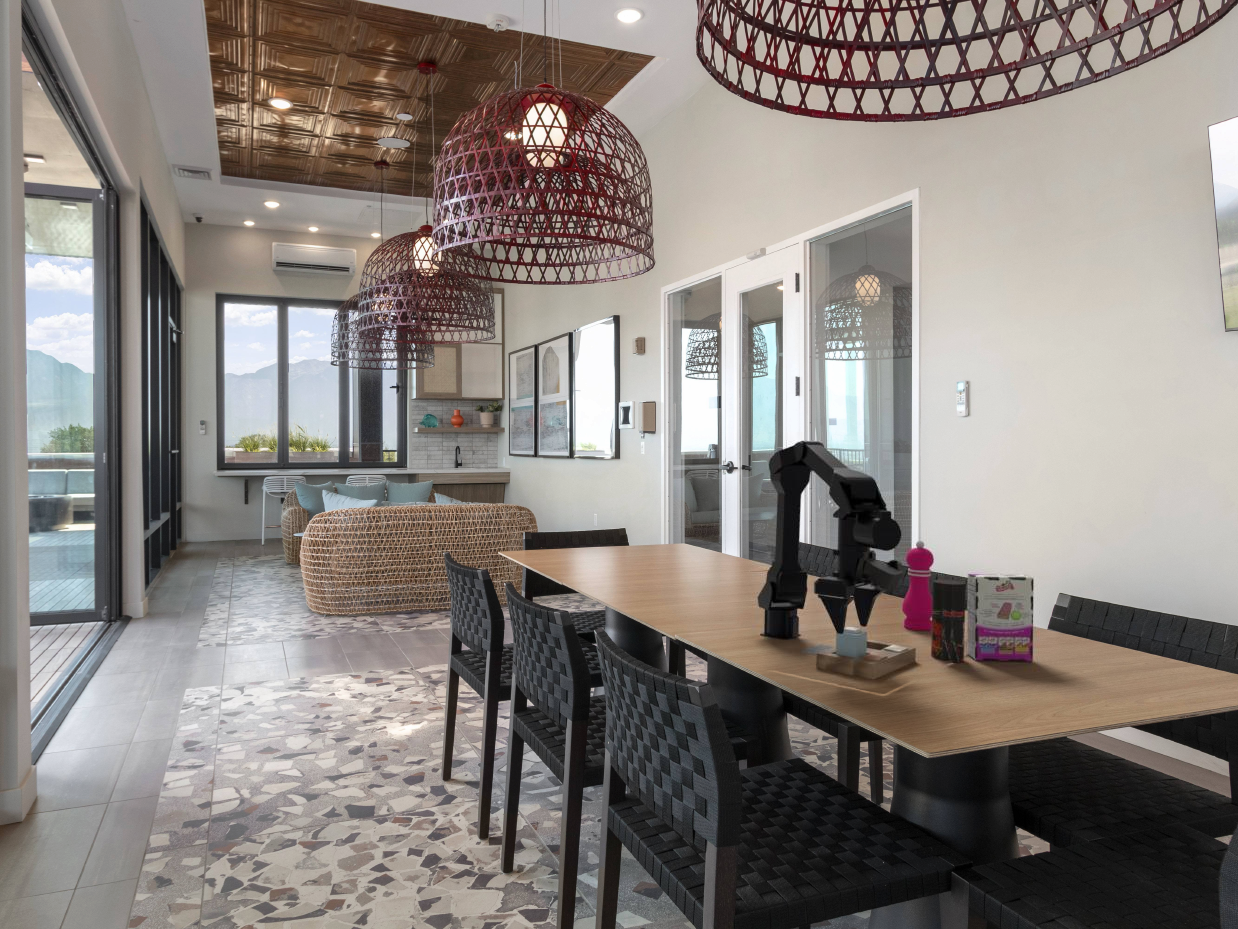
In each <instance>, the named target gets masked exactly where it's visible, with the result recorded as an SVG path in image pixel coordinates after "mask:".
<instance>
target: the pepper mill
mask: <svg viewBox="0 0 1238 929" xmlns="http://www.w3.org/2000/svg"><path fill="white" fill-rule="evenodd" d="M915 545H916V547H913V548H911V549H909V551H907V553H906V556H905V561H906V565H908V566H909V568H907V570H908V573H907V575H908V576H909V587H908V590H907V593H906V595H905V597H904V598H903V602H902V605H901V606H902V607H901V610H902V612H903V614H904V616H905V618H903V627H904V628H905V629H908V630H912V631H913V630H914V631H932V596H933V595H932V594H931V591H930V585H929V584H930V581H929V580H930V577H931V576H932V573H931V572H932V570H931V567H932V566H933V564H934V560H935V559H934V555H933V553H932V551H930V549H928V548H925V543H924V541H922V540H919V541H917V542H916V543H915Z"/></svg>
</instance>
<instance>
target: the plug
mask: <svg viewBox="0 0 1238 929" xmlns="http://www.w3.org/2000/svg"><path fill="white" fill-rule="evenodd" d="M835 633H836V634H835V636H836V637H835V647H836V654H837V655H842V656H847V657H852V658H861V657H862V656H865V655H866V651H867V639H868V632H867V631H862V628H859V627H852V626H846V627H845V628H844V633H843V634H838V633H837V632H836V631H835Z"/></svg>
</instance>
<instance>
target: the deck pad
mask: <svg viewBox="0 0 1238 929" xmlns="http://www.w3.org/2000/svg"><path fill="white" fill-rule="evenodd" d="M834 647H835V646H832V645H831V646H830V645H827V644H818V645H816V646H812V647H809V648H805V649H802V650H800V651H798V652H799V653H803V654H807V655H813V656H817V653H819V652H822V651H825V650H828V649H831V648H834Z"/></svg>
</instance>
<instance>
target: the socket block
mask: <svg viewBox="0 0 1238 929" xmlns="http://www.w3.org/2000/svg"><path fill="white" fill-rule="evenodd" d="M833 647H834V648H831V649H828V650H825V651H822V652H819V653H817V655H815V656H816V657H815V658H816V661H815V662H816V664H815V665H816V666H815V668H817V669H821V670H826V671H829V672H834V673H835V672H836V673H840V674H845V675H850V676H855V677H860V678H864V679H869V680H875V679H878V678H880V677H882V676H884V675H888V674H890V673H892V672H894V671H896V670H899V669H902V668H904V667H906V666H908V665H910V664H913V663H915V662H916V658H917V655H916V654H917V652H916V650H917V648H916V647H914V646H907V645H903V644H898V643H891V642H886V641H880V640H875V639H869V638H867V651H866V655H865V656H862V657H861V658H852V657H847V656H842V655H837V654H836V646H833Z"/></svg>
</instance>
